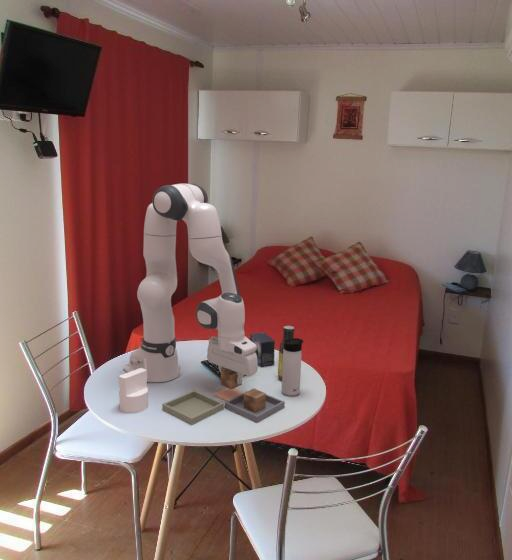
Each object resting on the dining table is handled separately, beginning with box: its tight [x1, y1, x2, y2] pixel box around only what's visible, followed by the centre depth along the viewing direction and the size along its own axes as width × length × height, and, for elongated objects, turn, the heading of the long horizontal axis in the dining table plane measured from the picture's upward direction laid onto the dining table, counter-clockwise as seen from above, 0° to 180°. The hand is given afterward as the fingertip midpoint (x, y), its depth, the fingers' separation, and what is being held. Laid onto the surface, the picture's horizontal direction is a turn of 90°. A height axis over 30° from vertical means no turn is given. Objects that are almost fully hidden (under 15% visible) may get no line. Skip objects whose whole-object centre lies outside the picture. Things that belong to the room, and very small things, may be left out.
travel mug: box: [281, 337, 304, 398], centre depth 179 cm, size 6×7×20 cm
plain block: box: [244, 388, 267, 413], centre depth 169 cm, size 5×5×5 cm
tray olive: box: [162, 390, 225, 426], centre depth 167 cm, size 14×14×2 cm
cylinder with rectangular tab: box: [118, 368, 149, 414], centre depth 167 cm, size 9×9×12 cm
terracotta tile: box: [212, 387, 245, 402], centre depth 178 cm, size 8×8×1 cm
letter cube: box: [220, 368, 243, 389], centre depth 176 cm, size 5×5×5 cm
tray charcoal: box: [224, 388, 286, 424], centre depth 169 cm, size 14×14×2 cm
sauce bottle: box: [277, 325, 295, 381], centre depth 191 cm, size 6×6×20 cm
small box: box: [249, 332, 276, 368], centre depth 207 cm, size 11×6×10 cm, turn 25°
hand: (231, 380), depth 177 cm, fingers closed on letter cube, 5 cm apart
